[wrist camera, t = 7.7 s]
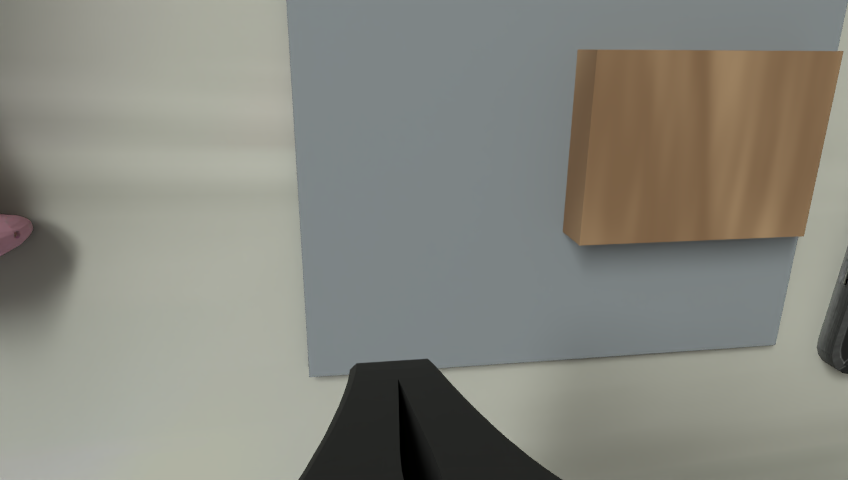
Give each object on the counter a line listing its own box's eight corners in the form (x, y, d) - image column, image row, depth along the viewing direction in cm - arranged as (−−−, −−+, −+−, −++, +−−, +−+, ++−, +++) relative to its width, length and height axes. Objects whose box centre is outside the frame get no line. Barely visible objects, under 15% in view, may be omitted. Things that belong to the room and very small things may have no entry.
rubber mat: (309, 371, 21) (309, 377, 21) (278, -145, 16) (277, -149, 16) (768, 340, 24) (775, 344, 23) (862, -116, 19) (873, -119, 18)
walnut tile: (579, 245, 19) (803, 236, 20) (597, 49, 17) (843, 50, 18) (562, 231, 21) (772, 223, 22) (577, 49, 19) (807, 50, 20)
